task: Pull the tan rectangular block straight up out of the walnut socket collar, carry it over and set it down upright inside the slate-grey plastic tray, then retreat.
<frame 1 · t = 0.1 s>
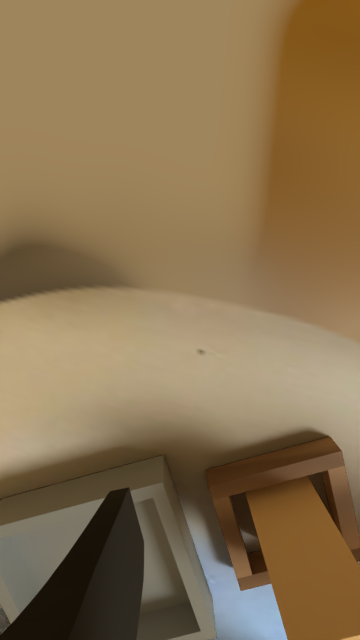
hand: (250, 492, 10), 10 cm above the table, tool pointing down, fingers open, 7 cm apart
tan rectangular block: (280, 505, 22), resting in socket collar
socket collar: (281, 505, 22), on the table
tray: (105, 551, 23), on the table
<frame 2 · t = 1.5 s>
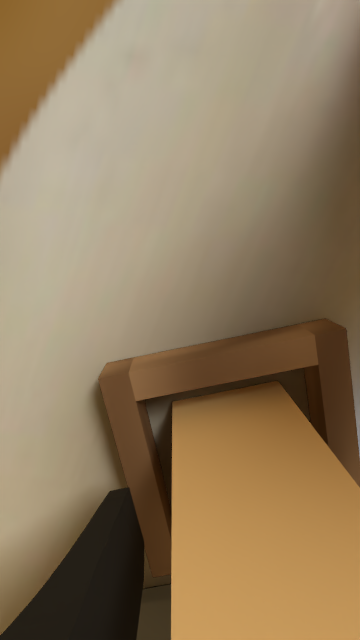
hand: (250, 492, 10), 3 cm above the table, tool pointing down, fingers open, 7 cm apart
tan rectangular block: (233, 438, 13), resting in socket collar
socket collar: (234, 439, 13), on the table
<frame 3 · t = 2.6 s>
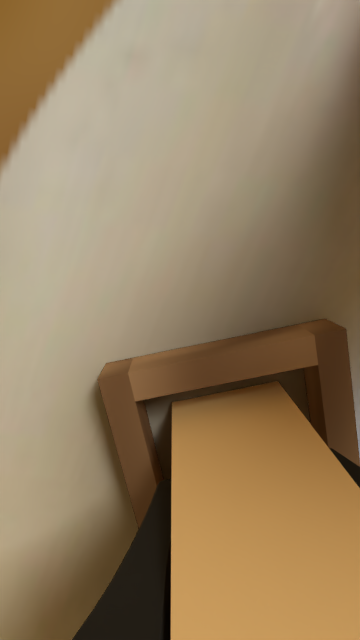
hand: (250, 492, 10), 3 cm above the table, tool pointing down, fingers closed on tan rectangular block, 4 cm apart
tan rectangular block: (233, 439, 13), resting in socket collar, touching gripper
socket collar: (233, 439, 13), on the table
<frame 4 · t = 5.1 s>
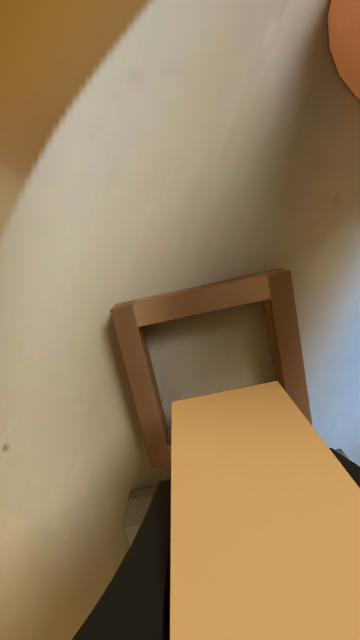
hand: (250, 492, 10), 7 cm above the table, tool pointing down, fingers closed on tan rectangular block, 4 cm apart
tan rectangular block: (233, 438, 13), point 4 cm above the table, touching gripper
socket collar: (212, 364, 17), on the table
tray: (252, 556, 20), on the table
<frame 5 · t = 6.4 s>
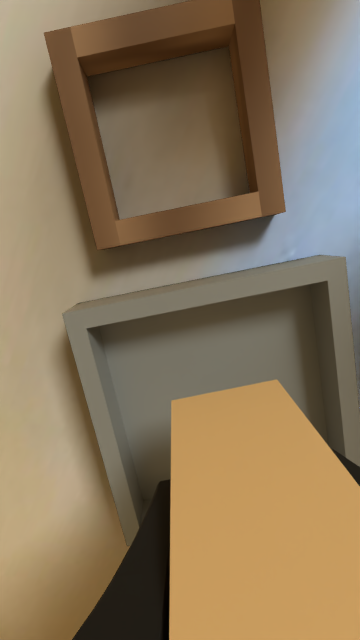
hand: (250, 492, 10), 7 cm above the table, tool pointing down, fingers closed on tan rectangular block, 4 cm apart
tan rectangular block: (233, 437, 13), point 4 cm above the table, touching gripper
socket collar: (171, 138, 15), on the table
tray: (218, 391, 17), on the table
when the fingers open (5 cm above the table, at t = 7.4 s): tan rectangular block drops 1 cm, resting on tray.
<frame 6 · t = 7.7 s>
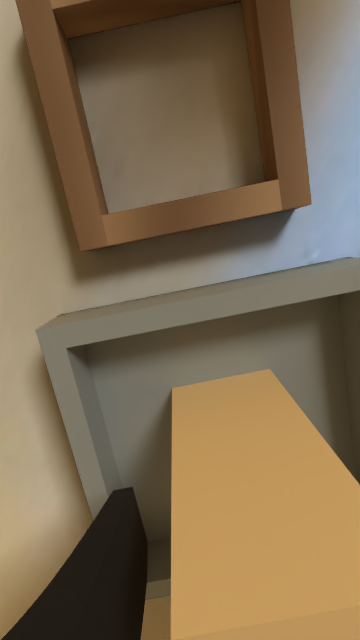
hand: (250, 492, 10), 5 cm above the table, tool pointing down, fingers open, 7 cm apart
tan rectangular block: (229, 423, 14), point 1 cm above the table, touching tray
socket collar: (171, 116, 12), on the table
tray: (226, 417, 15), on the table
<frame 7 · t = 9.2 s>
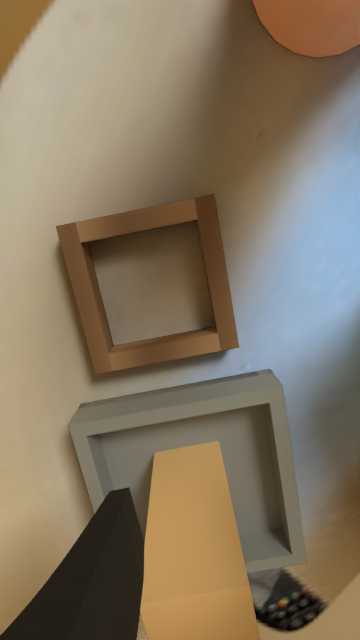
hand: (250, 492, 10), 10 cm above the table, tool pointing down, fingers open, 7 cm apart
tan rectangular block: (192, 474, 21), point 1 cm above the table, touching tray
socket collar: (153, 285, 19), on the table
tray: (192, 469, 22), on the table
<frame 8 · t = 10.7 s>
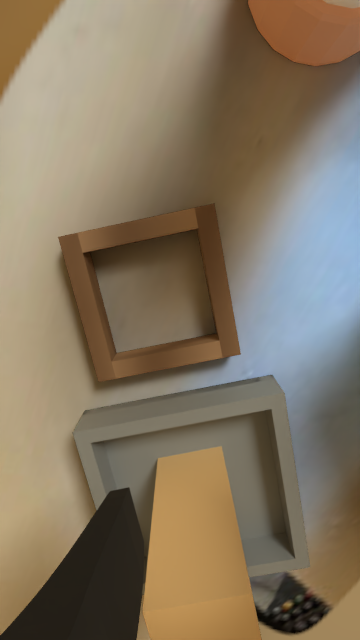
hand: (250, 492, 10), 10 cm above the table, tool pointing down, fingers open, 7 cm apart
tan rectangular block: (196, 479, 21), point 1 cm above the table, touching tray
socket collar: (155, 293, 19), on the table
tray: (195, 474, 22), on the table
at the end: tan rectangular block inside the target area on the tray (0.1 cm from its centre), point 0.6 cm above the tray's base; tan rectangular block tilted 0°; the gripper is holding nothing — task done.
